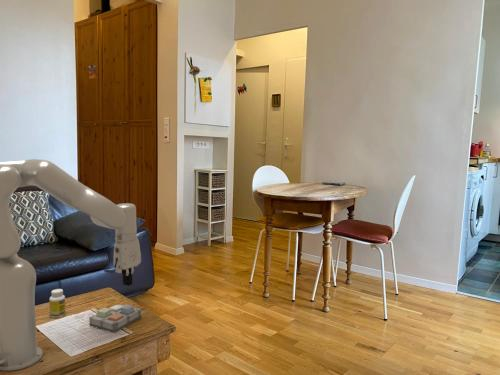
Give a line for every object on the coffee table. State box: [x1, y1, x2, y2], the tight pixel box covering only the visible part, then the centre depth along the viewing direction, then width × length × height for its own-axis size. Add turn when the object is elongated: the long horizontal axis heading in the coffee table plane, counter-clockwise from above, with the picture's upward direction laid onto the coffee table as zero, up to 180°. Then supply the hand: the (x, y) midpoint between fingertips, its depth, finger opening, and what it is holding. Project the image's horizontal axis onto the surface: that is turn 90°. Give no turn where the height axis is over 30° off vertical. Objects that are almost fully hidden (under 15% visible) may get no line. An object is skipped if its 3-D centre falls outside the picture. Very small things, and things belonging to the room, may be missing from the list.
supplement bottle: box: [49, 288, 66, 318], centre depth 150 cm, size 5×5×10 cm
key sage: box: [96, 307, 111, 318], centre depth 144 cm, size 3×3×3 cm
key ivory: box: [109, 304, 123, 312], centre depth 149 cm, size 3×3×3 cm
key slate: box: [121, 304, 135, 315], centre depth 147 cm, size 3×3×3 cm
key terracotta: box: [109, 314, 123, 322], centre depth 142 cm, size 3×3×3 cm
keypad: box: [88, 303, 142, 334], centre depth 146 cm, size 14×12×3 cm
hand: (127, 284), depth 146 cm, fingers closed
